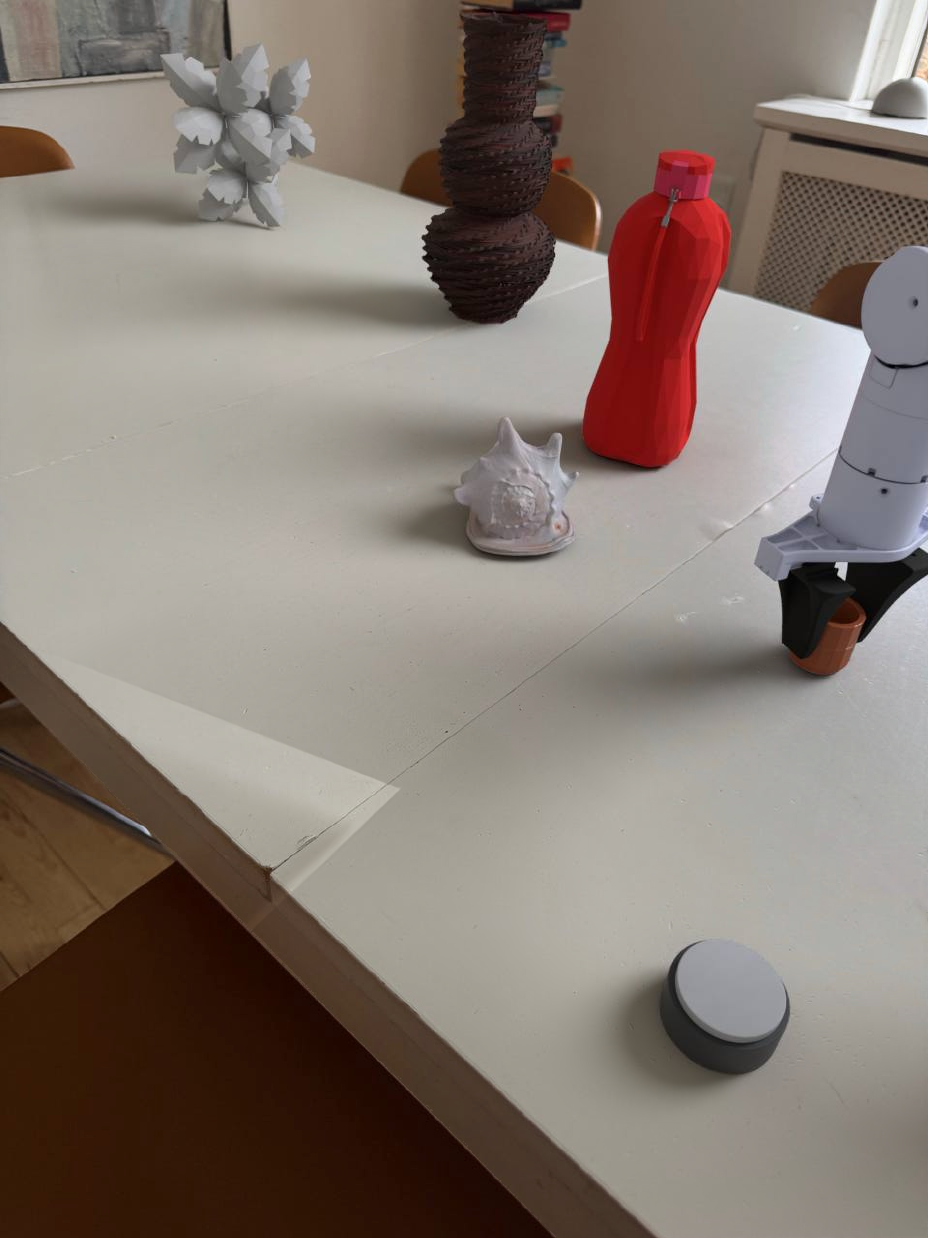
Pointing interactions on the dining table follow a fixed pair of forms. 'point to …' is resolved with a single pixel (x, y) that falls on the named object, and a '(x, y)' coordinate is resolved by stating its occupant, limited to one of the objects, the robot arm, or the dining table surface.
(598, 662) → the dining table surface
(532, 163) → the vase
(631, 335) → the water bottle
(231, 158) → the flower bouquet
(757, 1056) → the push button
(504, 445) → the seashell
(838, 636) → the cup
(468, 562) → the dining table surface
